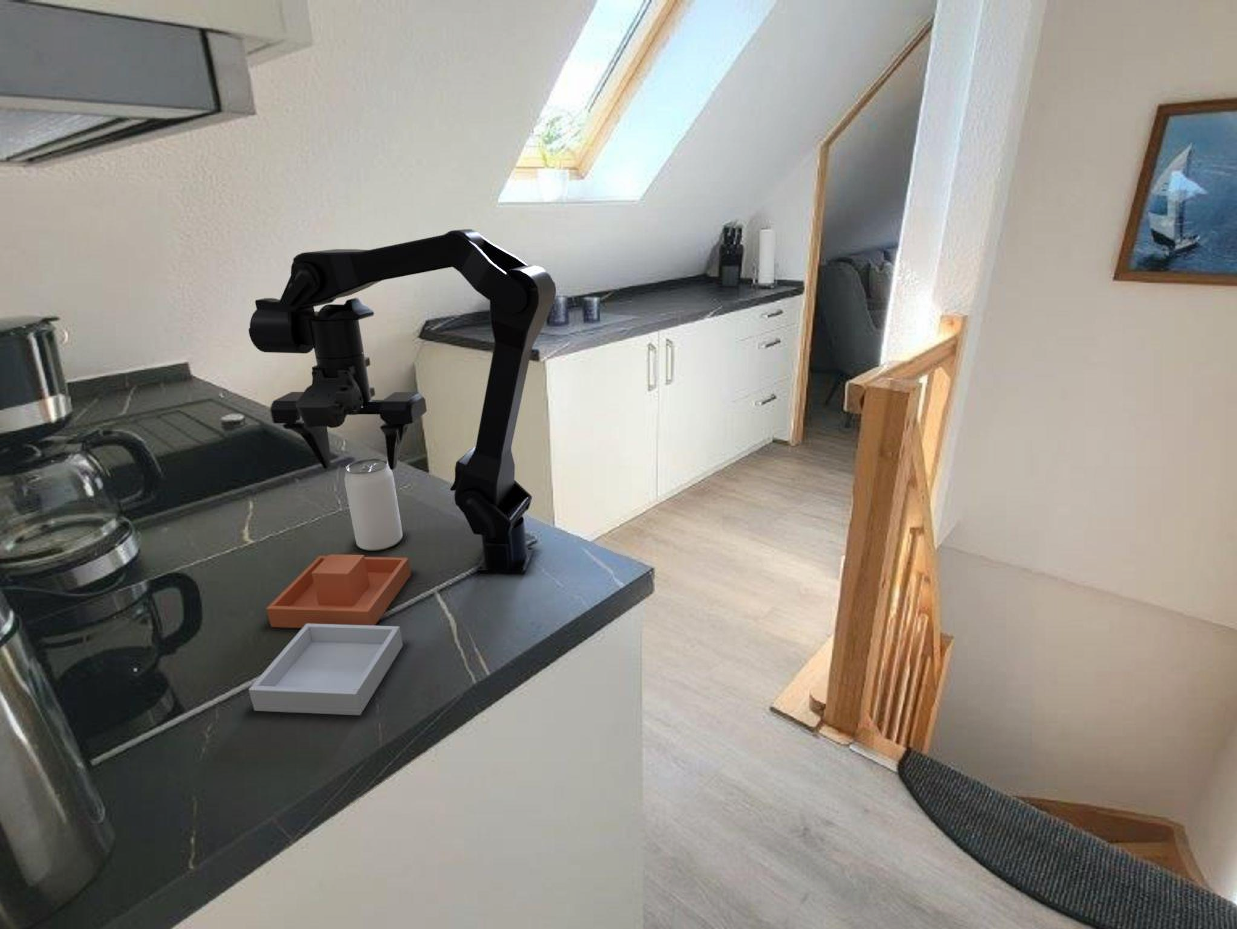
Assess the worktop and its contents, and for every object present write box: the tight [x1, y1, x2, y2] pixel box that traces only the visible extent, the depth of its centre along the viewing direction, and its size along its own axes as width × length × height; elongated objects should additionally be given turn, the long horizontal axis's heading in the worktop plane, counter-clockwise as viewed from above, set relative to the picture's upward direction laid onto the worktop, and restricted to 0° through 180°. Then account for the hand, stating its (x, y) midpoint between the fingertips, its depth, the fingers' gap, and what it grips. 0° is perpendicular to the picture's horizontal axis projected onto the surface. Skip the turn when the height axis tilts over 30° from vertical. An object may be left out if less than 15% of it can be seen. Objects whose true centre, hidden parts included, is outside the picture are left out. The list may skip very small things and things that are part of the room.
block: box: [312, 553, 370, 606], centre depth 80 cm, size 4×4×4 cm
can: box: [343, 457, 403, 552], centre depth 93 cm, size 6×6×12 cm
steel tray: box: [248, 624, 404, 716], centre depth 67 cm, size 11×11×3 cm
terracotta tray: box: [266, 555, 412, 629], centre depth 81 cm, size 12×12×3 cm
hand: (360, 468), depth 88 cm, fingers open, 9 cm apart
